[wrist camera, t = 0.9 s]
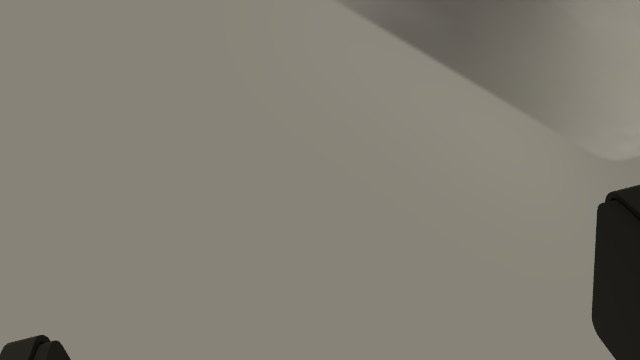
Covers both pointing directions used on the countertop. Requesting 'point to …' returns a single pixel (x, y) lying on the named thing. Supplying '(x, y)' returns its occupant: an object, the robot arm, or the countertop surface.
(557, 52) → the countertop surface
